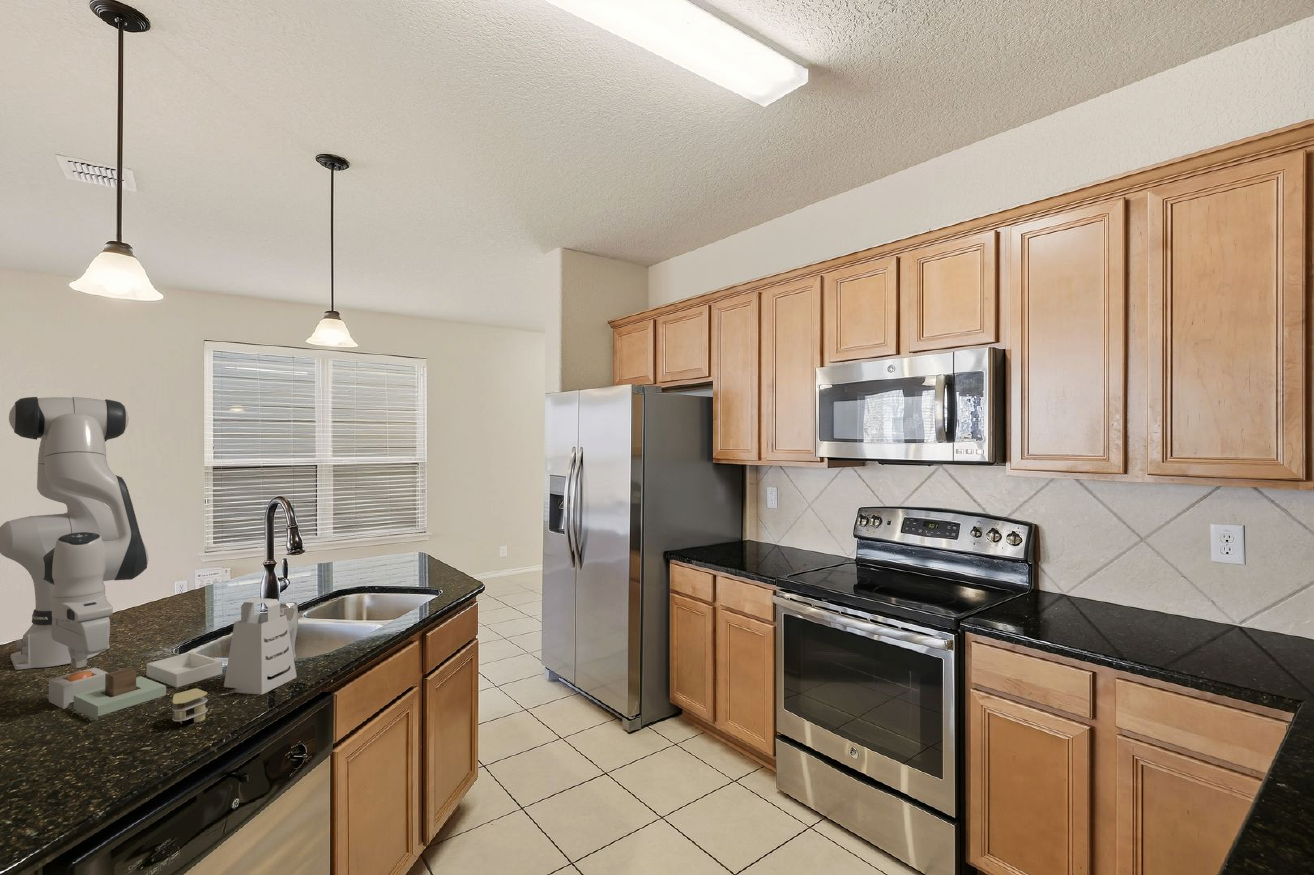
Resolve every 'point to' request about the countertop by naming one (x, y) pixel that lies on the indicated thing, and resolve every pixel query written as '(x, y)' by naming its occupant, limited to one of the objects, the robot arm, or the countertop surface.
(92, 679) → the button housing
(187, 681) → the tote
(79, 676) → the button
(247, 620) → the grater
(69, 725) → the countertop surface
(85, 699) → the pallet plate
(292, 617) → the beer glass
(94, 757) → the countertop surface
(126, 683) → the walnut block
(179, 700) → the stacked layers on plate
